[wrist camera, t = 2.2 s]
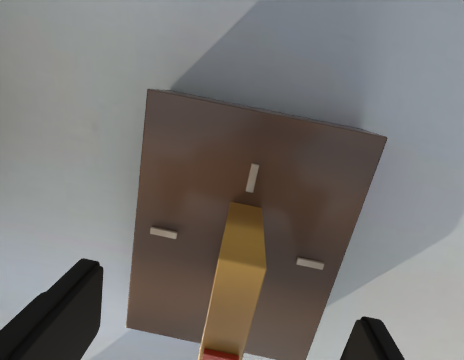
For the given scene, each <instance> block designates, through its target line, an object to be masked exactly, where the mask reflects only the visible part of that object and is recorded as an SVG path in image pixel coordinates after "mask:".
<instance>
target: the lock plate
mask: <svg viewBox="0 0 464 360" xmlns="http://www.w3.org/2000/svg"><path fill="white" fill-rule="evenodd" d="M386 141H387V137H385V136H382V135H379V134H375V133H372V132H369V131H366V130H363V129H358V128H353V127H348V126H343V125H338V124H333V123H328V122H323V121H318V120H313V119H309V118H304V117H299V116H294V115H289V114H284V113H279V112H274V111H269V110H264V109H259V108H254V107H249V106H244V105H239V104H234V103H229V102H224V101H219V100H215V99H210V98H205V97H200V96H195V95H190V94H185V93H180V92H175V91H170V90H159V89H148V90H147V101H146V111H145V122H144V133H143V144H142V155H141V166H140V177H139V188H138V199H137V210H136V221H135V232H134V243H133V254H132V265H131V276H130V287H129V298H128V309H127V320H126V328H131V329H135V330H140V331H145V332H149V333H154V334H159V335H163V336H168V337H173V338H177V339H182V340H187V341H191V342H196V343H201V341H202V336H203V331H204V326H205V321H206V316H207V312H208V307H209V302H210V297H211V292H212V287H213V282H214V277H215V272H216V268H217V263H218V258H219V253H220V248H221V244H222V239H223V234H224V230H225V225H226V220H227V216H228V211H229V206H230V202H235V203H240V204H244V205H249V206H254V207H259V208H262V216H263V229H264V242H265V255H266V268H267V270H266V273H265V277H264V281H263V284H262V288H261V292H260V295H259V299H258V303H257V306H256V310H255V314H254V317H253V321H252V325H251V328H250V332H249V336H248V340H247V343H246V347H245V351H244V353H247V354H252V355H257V356H261V357H266V358H270V359H275V360H306V358H307V355H308V352H309V350H310V347H311V344H312V342H313V339H314V336H315V333H316V331H317V328H318V325H319V323H320V320H321V317H322V314H323V312H324V309H325V306H326V304H327V301H328V298H329V295H330V293H331V290H332V287H333V285H334V282H335V279H336V276H337V274H338V271H339V268H340V266H341V263H342V260H343V257H344V255H345V252H346V249H347V247H348V244H349V241H350V238H351V236H352V233H353V230H354V228H355V225H356V222H357V219H358V217H359V214H360V211H361V209H362V206H363V203H364V200H365V198H366V195H367V192H368V190H369V187H370V184H371V181H372V179H373V176H374V173H375V171H376V168H377V165H378V162H379V160H380V157H381V154H382V152H383V149H384V146H385V143H386Z"/></svg>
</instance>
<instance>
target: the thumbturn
mask: <svg viewBox="0 0 464 360" xmlns="http://www.w3.org/2000/svg"><path fill="white" fill-rule="evenodd" d="M266 270H267V268H266V255H265V242H264V229H263V216H262V208H259V207H254V206H249V205H244V204H240V203H235V202H230V206H229V211H228V216H227V220H226V225H225V230H224V234H223V239H222V244H221V248H220V253H219V258H218V263H217V268H216V272H215V277H214V282H213V287H212V292H211V297H210V302H209V307H208V312H207V316H206V321H205V326H204V331H203V336H202V341H201V346H200V351H199V356H198V360H242V358H243V354H244V351H245V347H246V343H247V340H248V336H249V332H250V328H251V325H252V321H253V317H254V314H255V310H256V306H257V303H258V299H259V295H260V292H261V288H262V284H263V281H264V277H265V273H266Z"/></svg>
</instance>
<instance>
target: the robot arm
mask: <svg viewBox="0 0 464 360" xmlns="http://www.w3.org/2000/svg"><path fill="white" fill-rule="evenodd" d="M102 285H103V267H101V266H100V264H99V262H98V261H93V260H88V259H81V260H79V261H78V262H77V263H76V264H75V265H74V266H73V267H72V268H71V269H70V270H69V271H68V272H67V273H65V274H64V275H63V276H62V277H61V278H60V279H59V280H58V281H57V282H56V283H55V284H54V285H53V286H52V287H51V288H50V289H49V290H48V291H47V292H43V293H41V294H40V295H38V296H37V297H36V298H35V299H34V300H33V301H31V302H30V303H29V304H28V305H27V306H26V307H25V308H24V309H23V310H22V311H21V312H20V313H19V314H18V315H16V316H15V317H14V318H13V319H12V320H11V321H10V322H9V323H8V324H7V325H6V326H5V327H4V328H2V329H1V330H0V360H80V359H81V358H82V356H83V355H84V353H85V352H86V350H87V349H88V347H89V346H90V344H91V343H92V341H93V339H94V338H95V336H96V335H97V333H98V330H99V327H100V319H101V302H102ZM340 360H405V359H404V357H403V356H402V354H401V352H400V351H399V349H398V347H397V346H396V344H395V342H394V340H393V339H392V337H391V335H390V334H389V332H388V330H387V329H386V327H385V325H384V323H383V322H382V321H381V320H379V319H374V318H369V317H362V318H361V319H360V320H357V321H356V322H355V325H354V327H353V329H352V332H351V334H350V337H349V339H348V342H347V344H346V346H345V349H344V351H343V354H342V356H341V359H340Z"/></svg>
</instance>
